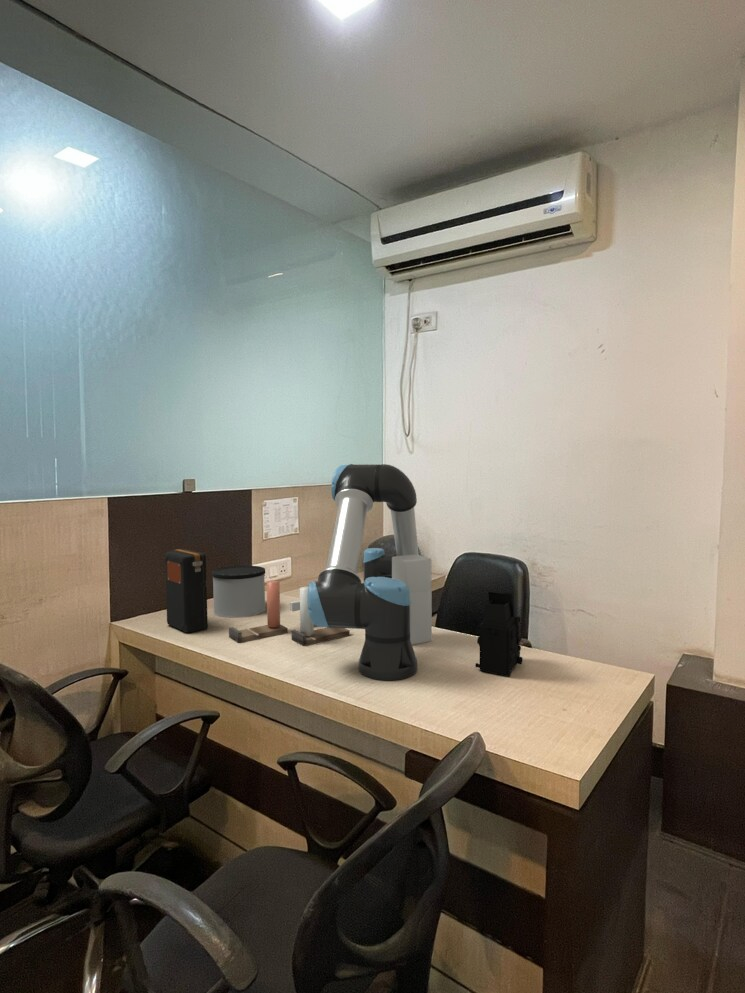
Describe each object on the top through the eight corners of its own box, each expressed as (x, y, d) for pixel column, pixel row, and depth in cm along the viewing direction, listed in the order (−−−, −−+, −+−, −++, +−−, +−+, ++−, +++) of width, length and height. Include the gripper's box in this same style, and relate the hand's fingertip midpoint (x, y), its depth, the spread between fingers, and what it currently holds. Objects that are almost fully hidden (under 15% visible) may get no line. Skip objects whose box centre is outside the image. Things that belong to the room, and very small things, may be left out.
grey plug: (309, 631, 169) (309, 586, 168) (316, 634, 166) (315, 588, 165) (298, 633, 166) (297, 587, 166) (304, 636, 163) (303, 590, 162)
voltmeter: (211, 629, 178) (209, 552, 177) (186, 635, 172) (183, 556, 171) (188, 619, 189) (186, 547, 188) (163, 625, 183) (161, 550, 182)
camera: (527, 661, 147) (528, 587, 146) (512, 679, 135) (513, 598, 134) (491, 655, 152) (491, 583, 151) (473, 671, 140) (474, 593, 139)
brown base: (276, 626, 180) (276, 617, 180) (289, 633, 173) (288, 624, 173) (227, 636, 171) (227, 626, 171) (239, 643, 164) (239, 633, 163)
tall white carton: (391, 637, 168) (391, 556, 167) (416, 633, 172) (416, 554, 171) (406, 646, 160) (406, 561, 159) (432, 641, 164) (431, 558, 163)
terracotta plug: (276, 622, 178) (276, 580, 177) (282, 625, 175) (281, 582, 174) (265, 625, 175) (264, 581, 175) (270, 628, 172) (270, 583, 171)
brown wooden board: (335, 629, 177) (335, 619, 177) (351, 636, 170) (351, 626, 170) (290, 639, 168) (289, 629, 167) (304, 646, 160) (304, 636, 160)
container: (231, 621, 188) (230, 577, 187) (202, 611, 201) (201, 570, 200) (276, 610, 201) (275, 569, 200) (247, 601, 214) (246, 563, 213)
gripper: (362, 610, 187) (300, 622, 173) (341, 603, 198) (282, 614, 184) (362, 588, 187) (300, 599, 173) (341, 582, 197) (281, 591, 183)
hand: (291, 606), depth 178 cm, fingers closed
